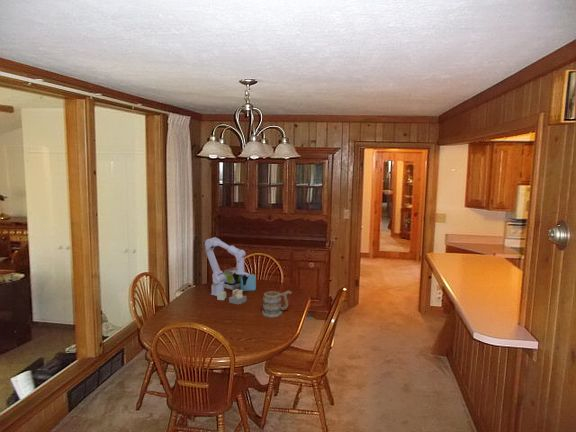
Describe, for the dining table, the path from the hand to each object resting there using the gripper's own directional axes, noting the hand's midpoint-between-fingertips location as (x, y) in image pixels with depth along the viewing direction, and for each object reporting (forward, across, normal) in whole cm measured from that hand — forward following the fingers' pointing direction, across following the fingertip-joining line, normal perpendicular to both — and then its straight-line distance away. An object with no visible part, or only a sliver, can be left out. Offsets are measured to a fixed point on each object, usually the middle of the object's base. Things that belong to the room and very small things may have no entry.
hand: (240, 284), depth 308 cm
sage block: (+10, -10, -10) cm, 18 cm away
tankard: (+11, +41, -10) cm, 44 cm away
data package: (+11, -8, +18) cm, 22 cm away
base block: (+11, +4, -8) cm, 14 cm away
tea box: (+11, -22, +18) cm, 30 cm away
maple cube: (+7, +4, -8) cm, 11 cm away
